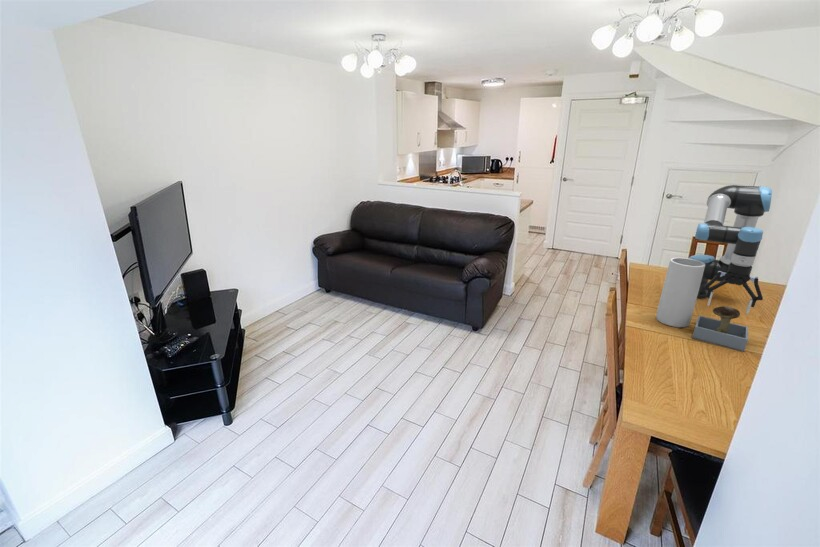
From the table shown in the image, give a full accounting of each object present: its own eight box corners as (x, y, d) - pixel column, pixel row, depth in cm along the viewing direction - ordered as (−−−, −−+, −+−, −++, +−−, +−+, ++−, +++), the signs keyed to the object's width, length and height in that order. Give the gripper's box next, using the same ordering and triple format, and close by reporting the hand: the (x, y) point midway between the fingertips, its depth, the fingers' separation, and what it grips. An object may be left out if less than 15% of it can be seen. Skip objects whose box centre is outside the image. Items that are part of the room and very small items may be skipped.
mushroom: (736, 343, 171) (746, 313, 166) (714, 341, 173) (723, 311, 168) (724, 333, 180) (733, 304, 175) (703, 331, 182) (712, 302, 177)
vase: (686, 318, 196) (702, 259, 185) (692, 330, 184) (709, 268, 173) (653, 313, 202) (667, 255, 191) (657, 324, 189) (672, 264, 179)
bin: (695, 326, 188) (698, 315, 186) (744, 338, 177) (748, 326, 175) (691, 338, 177) (695, 326, 175) (744, 352, 166) (748, 339, 164)
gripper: (704, 260, 169) (692, 304, 177) (781, 272, 154) (764, 319, 162) (706, 256, 175) (694, 298, 182) (780, 267, 160) (763, 313, 167)
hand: (727, 308), depth 172 cm, fingers open, 13 cm apart
